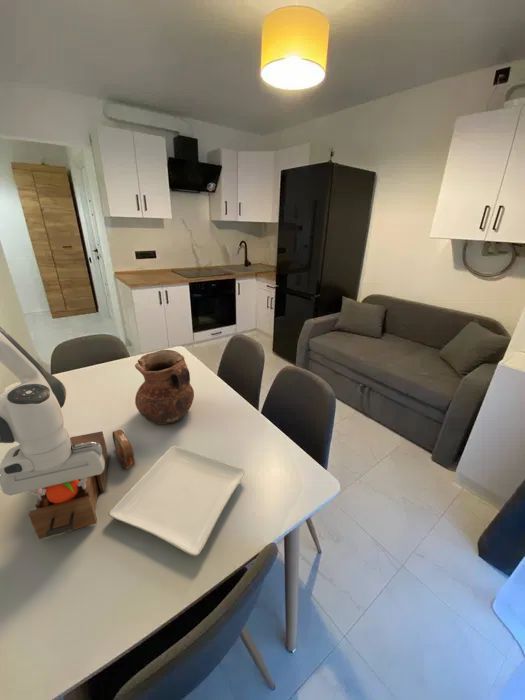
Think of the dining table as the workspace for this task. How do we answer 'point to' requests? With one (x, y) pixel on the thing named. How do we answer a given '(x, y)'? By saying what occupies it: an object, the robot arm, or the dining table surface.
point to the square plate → (180, 498)
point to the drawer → (66, 512)
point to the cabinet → (99, 439)
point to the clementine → (62, 492)
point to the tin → (123, 448)
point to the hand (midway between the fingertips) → (63, 492)
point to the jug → (164, 387)
